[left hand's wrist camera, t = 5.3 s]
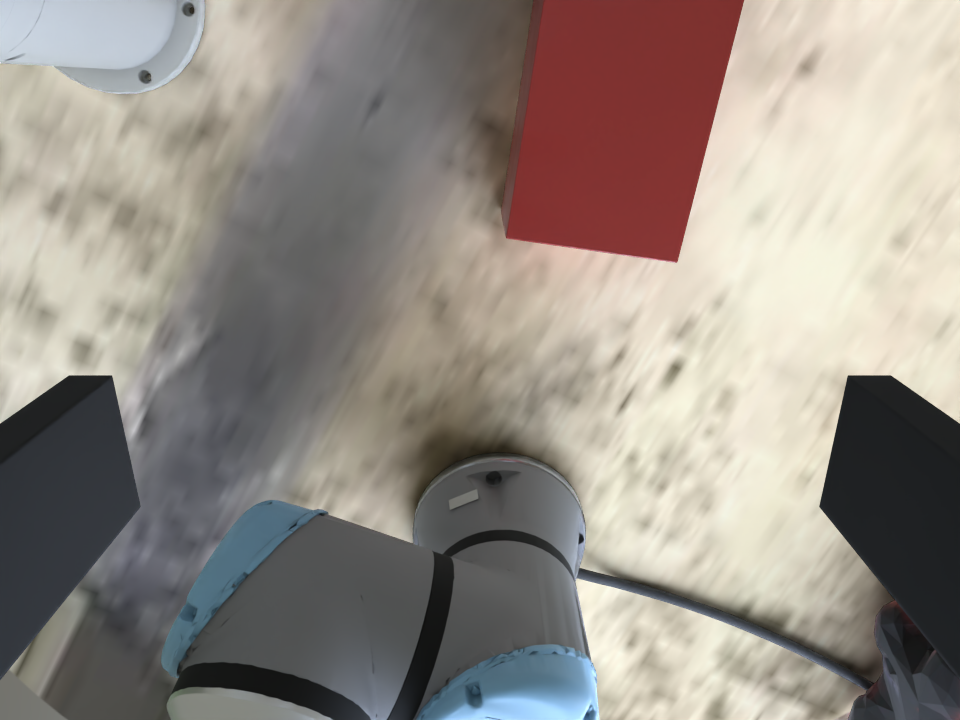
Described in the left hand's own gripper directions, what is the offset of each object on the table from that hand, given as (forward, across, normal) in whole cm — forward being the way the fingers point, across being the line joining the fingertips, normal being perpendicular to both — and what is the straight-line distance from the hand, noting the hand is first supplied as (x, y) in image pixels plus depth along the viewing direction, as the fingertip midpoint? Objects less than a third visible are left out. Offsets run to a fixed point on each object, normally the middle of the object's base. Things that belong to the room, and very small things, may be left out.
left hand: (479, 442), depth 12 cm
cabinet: (+41, -8, -6) cm, 42 cm away
